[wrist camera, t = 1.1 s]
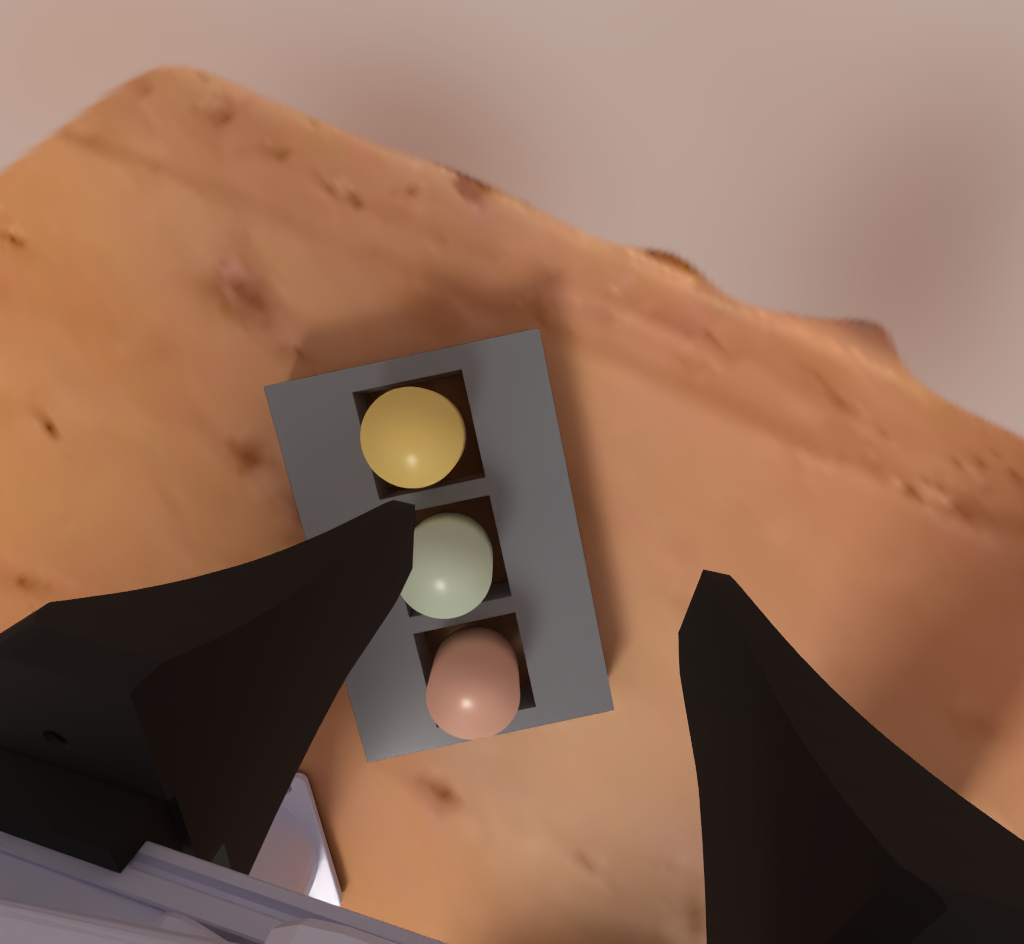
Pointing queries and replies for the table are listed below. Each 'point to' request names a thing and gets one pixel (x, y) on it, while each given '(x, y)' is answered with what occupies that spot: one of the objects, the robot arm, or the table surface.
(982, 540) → the table surface
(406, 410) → the mustard button
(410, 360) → the panel
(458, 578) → the sage button
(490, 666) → the terracotta button
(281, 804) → the robot arm
